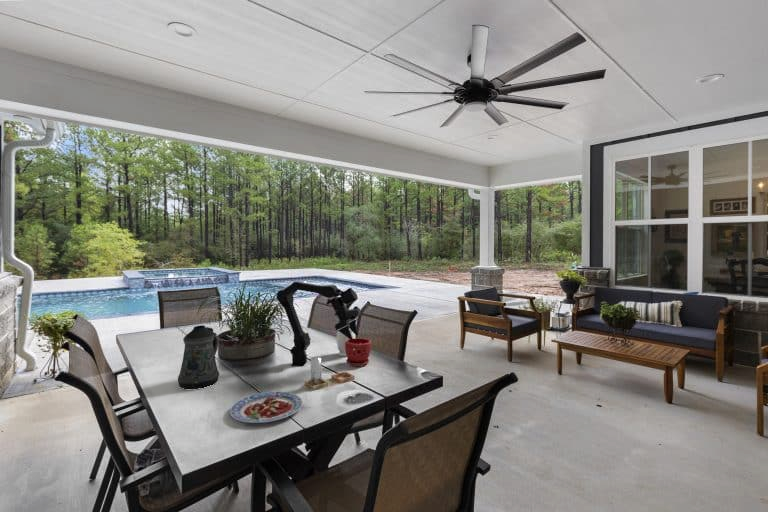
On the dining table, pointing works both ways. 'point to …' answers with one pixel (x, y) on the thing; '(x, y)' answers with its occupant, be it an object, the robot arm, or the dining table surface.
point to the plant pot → (357, 351)
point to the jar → (342, 342)
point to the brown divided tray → (330, 381)
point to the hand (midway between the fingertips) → (354, 337)
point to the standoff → (315, 371)
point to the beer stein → (199, 359)
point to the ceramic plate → (266, 407)
